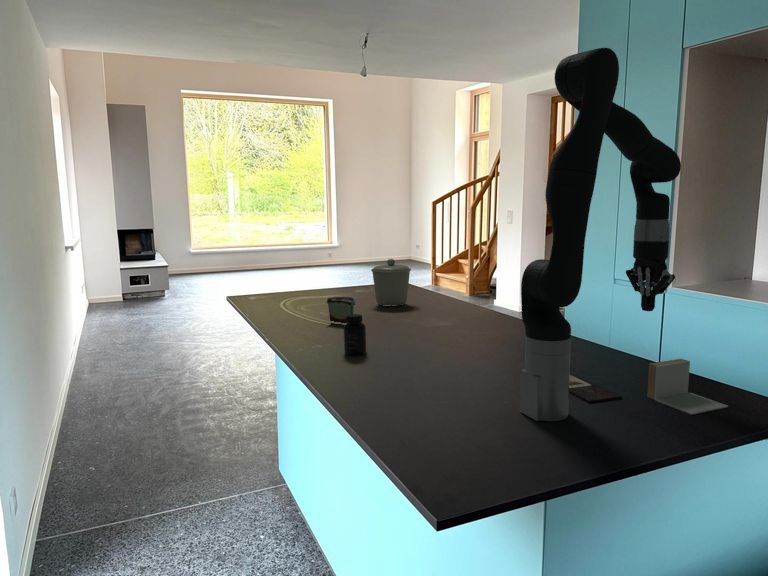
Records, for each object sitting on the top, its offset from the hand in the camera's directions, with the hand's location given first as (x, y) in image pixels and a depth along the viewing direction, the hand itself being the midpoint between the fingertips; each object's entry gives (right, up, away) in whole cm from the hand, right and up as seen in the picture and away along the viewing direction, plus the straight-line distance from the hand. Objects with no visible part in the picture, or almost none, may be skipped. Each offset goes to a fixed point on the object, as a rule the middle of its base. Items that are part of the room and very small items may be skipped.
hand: (647, 310), depth 133 cm
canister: (-60, -3, +118) cm, 132 cm away
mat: (+5, -20, -9) cm, 23 cm away
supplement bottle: (-72, -15, +38) cm, 83 cm away
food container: (-79, -9, +81) cm, 113 cm away
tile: (+3, -20, -4) cm, 20 cm away
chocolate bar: (-15, -20, +2) cm, 25 cm away
